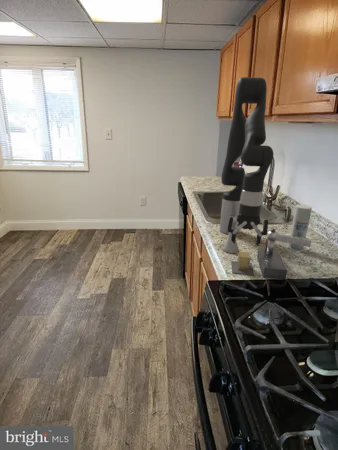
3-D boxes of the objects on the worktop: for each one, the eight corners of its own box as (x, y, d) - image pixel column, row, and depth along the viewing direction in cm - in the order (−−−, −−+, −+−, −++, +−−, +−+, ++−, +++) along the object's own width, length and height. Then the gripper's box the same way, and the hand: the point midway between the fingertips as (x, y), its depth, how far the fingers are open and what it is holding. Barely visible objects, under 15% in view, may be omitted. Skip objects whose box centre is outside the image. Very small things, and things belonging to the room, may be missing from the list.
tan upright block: (237, 264, 119) (238, 251, 117) (247, 265, 119) (249, 252, 117) (237, 269, 114) (239, 256, 113) (248, 270, 114) (250, 257, 112)
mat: (231, 261, 122) (231, 260, 122) (251, 263, 121) (251, 262, 121) (232, 273, 112) (232, 272, 112) (254, 275, 111) (254, 274, 111)
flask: (227, 245, 138) (229, 225, 135) (241, 250, 134) (244, 229, 130) (218, 250, 133) (220, 229, 129) (233, 255, 128) (235, 233, 125)
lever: (266, 239, 119) (267, 229, 117) (268, 236, 122) (269, 227, 120) (309, 248, 112) (311, 237, 110) (310, 244, 115) (312, 234, 114)
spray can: (301, 246, 140) (309, 205, 134) (305, 252, 134) (313, 209, 127) (286, 245, 141) (294, 204, 134) (289, 250, 135) (297, 207, 128)
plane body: (257, 257, 127) (260, 235, 124) (276, 259, 126) (280, 237, 123) (262, 277, 110) (266, 253, 107) (285, 280, 109) (290, 255, 106)
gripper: (269, 201, 110) (263, 241, 116) (230, 198, 112) (226, 238, 118) (272, 206, 103) (266, 249, 109) (231, 203, 105) (226, 245, 111)
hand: (245, 243), depth 113 cm, fingers open, 8 cm apart
